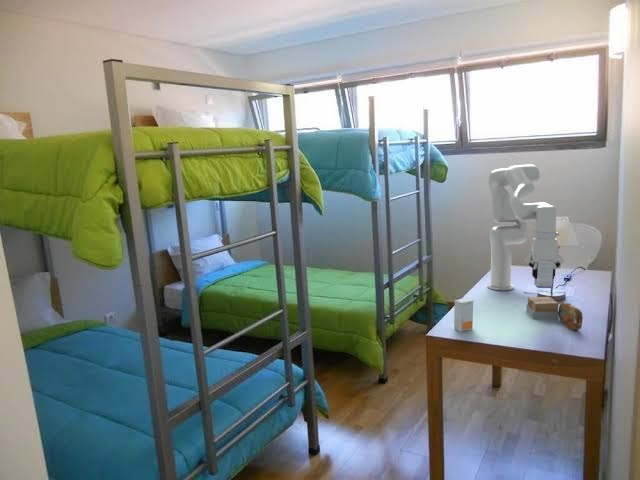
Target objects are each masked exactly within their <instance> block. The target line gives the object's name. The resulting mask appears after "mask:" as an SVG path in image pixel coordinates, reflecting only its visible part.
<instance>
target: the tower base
mask: <svg viewBox="0 0 640 480" xmlns="http://www.w3.org/2000/svg"><path fill="white" fill-rule="evenodd" d="M525 310H526V313H527V314H528V315H529V317H531V319H532V320H559V314H558V311H555V312H535V311H534V310H533V309H531V308H530V307H529V306H528V303H527V304H526V309H525Z"/></svg>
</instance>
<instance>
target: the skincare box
mask: <svg viewBox="0 0 640 480" xmlns="http://www.w3.org/2000/svg"><path fill="white" fill-rule="evenodd" d="M453 310H454V311H453V312H454V313H453V315H454V316H453V317H454V319H453V320H454V321H453V328H454V329H455V330H456V331H459V332H460V333H461V332H465V331H470V330H473V326H474V323H473V321H474V320H473V318H474V300H473V299H469V298H468V297H465V298H460V299H454V309H453Z"/></svg>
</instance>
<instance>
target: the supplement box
mask: <svg viewBox="0 0 640 480" xmlns="http://www.w3.org/2000/svg"><path fill="white" fill-rule="evenodd" d="M553 280H554V279H553V261H539V262H538V265H537V279H535V278H534V282H533V283H534V286H535V287H536V288H538V289H552V288H553Z"/></svg>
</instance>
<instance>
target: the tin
mask: <svg viewBox="0 0 640 480" xmlns="http://www.w3.org/2000/svg"><path fill="white" fill-rule="evenodd" d="M558 314H559V318H558V320H559V321H560V322H561V324H562V325H564V326H565V327H566V328H568V329H569V330H571V331H573V330H574V331H575V330H577V331H578V330H580V329H581V328H582V326H583V317H584V316H583V314H582V311H581V309H580V308H577V307H576V306H574V305H572V303H569V302H562V303H560V305H558Z"/></svg>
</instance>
